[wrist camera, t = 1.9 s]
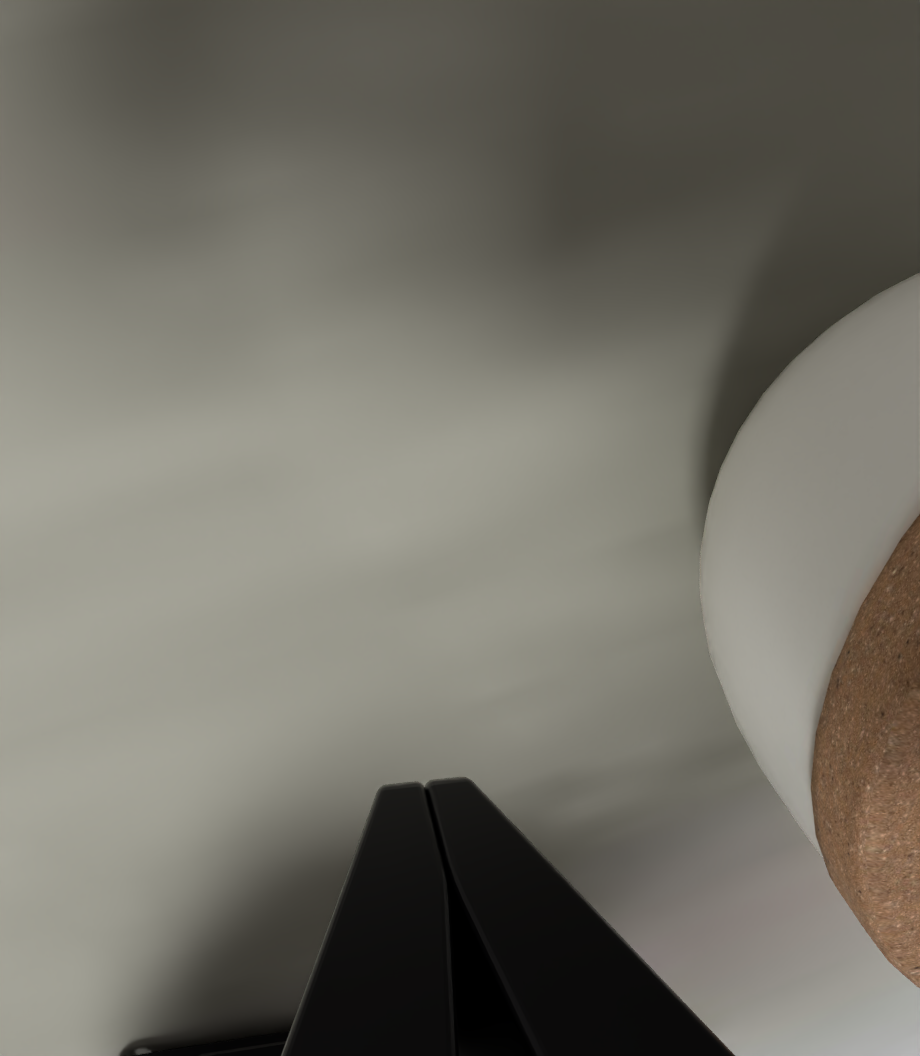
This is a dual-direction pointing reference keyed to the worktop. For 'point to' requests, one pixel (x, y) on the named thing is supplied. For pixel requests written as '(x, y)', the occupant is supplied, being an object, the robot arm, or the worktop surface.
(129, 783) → the worktop surface
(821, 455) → the lidded jar
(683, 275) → the worktop surface
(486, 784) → the worktop surface
